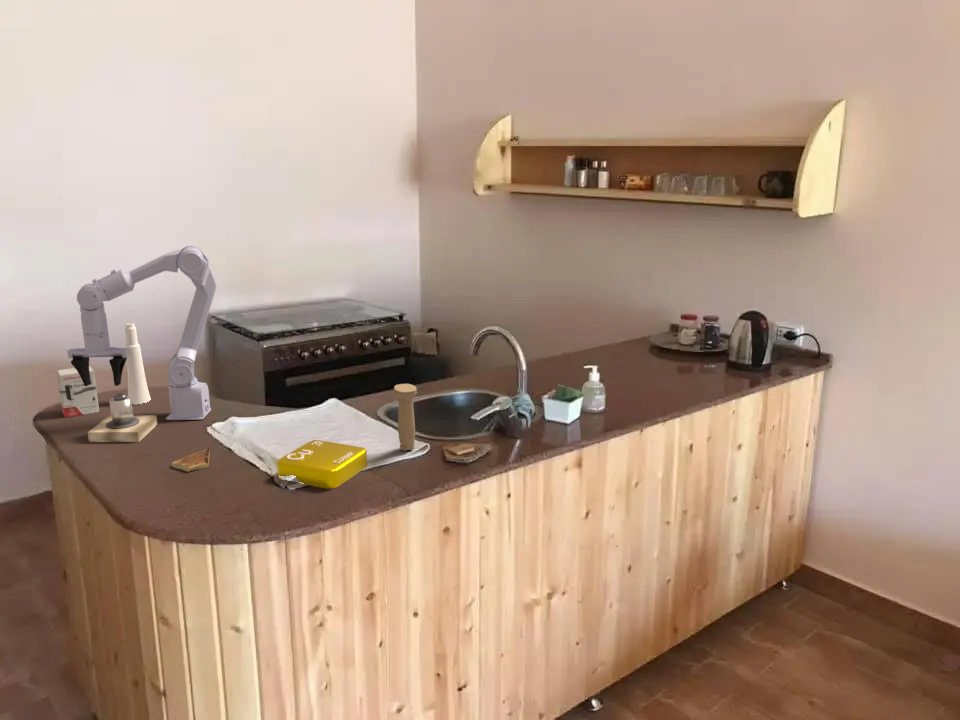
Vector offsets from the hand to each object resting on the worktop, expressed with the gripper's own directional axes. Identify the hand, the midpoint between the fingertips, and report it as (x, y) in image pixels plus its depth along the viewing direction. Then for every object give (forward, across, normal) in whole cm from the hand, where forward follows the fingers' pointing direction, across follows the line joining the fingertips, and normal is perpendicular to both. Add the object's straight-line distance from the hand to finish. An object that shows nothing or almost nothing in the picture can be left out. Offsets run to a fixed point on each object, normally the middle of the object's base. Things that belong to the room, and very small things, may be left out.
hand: (102, 384), depth 210 cm
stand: (+10, +7, -7) cm, 14 cm away
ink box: (+11, -11, +9) cm, 18 cm away
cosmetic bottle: (+11, +1, +18) cm, 21 cm away
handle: (+11, +78, -19) cm, 81 cm away
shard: (+11, +30, -26) cm, 41 cm away
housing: (+8, +7, -7) cm, 12 cm away
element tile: (+11, +61, -32) cm, 69 cm away
